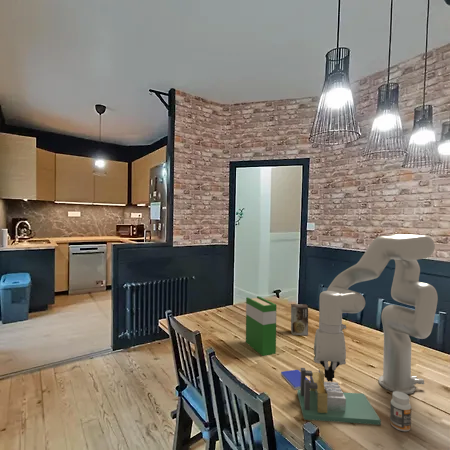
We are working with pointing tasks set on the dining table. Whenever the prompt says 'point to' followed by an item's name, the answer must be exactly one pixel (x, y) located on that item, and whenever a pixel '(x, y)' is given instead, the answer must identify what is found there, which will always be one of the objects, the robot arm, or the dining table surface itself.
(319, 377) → the tan notched block
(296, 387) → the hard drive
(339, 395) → the heatsink
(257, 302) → the hardback book
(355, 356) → the dining table surface
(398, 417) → the pill bottle
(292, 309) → the coffee box
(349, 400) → the board
